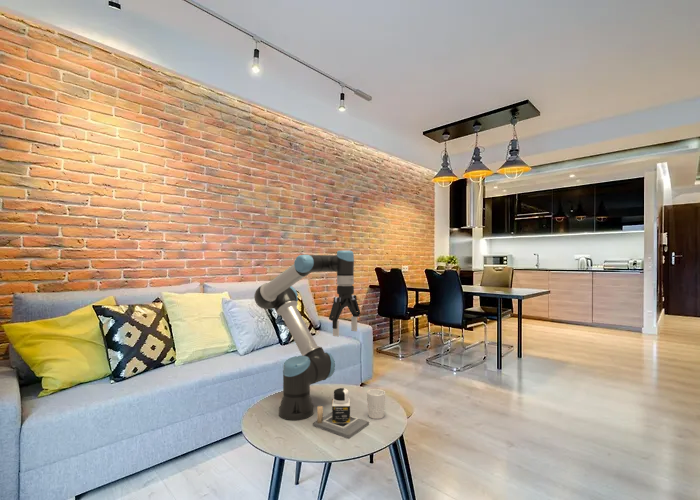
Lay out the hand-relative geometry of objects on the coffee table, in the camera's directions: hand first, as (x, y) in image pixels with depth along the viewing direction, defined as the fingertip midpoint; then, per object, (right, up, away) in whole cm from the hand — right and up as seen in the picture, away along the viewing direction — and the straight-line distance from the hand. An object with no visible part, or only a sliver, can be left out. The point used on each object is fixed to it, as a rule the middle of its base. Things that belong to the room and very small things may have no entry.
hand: (345, 333), depth 155 cm
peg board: (-2, -34, -12) cm, 36 cm away
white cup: (+13, -35, -3) cm, 37 cm away
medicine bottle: (-2, -32, -12) cm, 35 cm away
